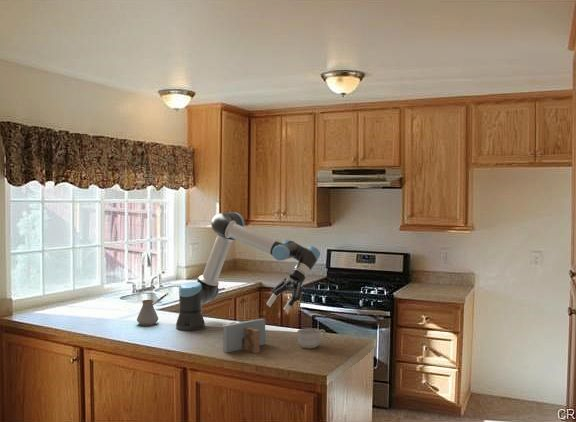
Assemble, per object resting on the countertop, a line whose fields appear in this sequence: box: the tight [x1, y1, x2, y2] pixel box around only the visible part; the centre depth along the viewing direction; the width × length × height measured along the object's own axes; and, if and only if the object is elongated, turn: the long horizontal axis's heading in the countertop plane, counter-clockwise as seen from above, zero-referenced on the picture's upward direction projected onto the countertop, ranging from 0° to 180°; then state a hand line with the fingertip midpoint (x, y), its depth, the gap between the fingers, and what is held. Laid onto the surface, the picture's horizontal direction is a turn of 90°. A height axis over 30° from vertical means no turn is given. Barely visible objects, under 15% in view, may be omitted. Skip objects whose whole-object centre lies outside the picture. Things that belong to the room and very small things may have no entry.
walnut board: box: [229, 321, 261, 354], centre depth 255 cm, size 20×2×10 cm, turn 40°
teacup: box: [297, 327, 327, 349], centre depth 257 cm, size 14×11×8 cm
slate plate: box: [222, 317, 266, 354], centre depth 255 cm, size 2×22×12 cm, turn 130°
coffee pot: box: [136, 292, 171, 327], centre depth 304 cm, size 21×12×15 cm, turn 146°
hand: (276, 308), depth 268 cm, fingers open, 13 cm apart
